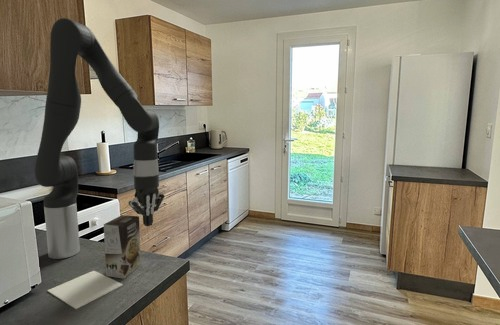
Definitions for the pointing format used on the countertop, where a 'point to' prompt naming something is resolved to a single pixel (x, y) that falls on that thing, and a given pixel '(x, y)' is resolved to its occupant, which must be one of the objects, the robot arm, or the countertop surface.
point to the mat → (84, 289)
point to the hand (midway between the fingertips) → (148, 225)
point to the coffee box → (122, 246)
